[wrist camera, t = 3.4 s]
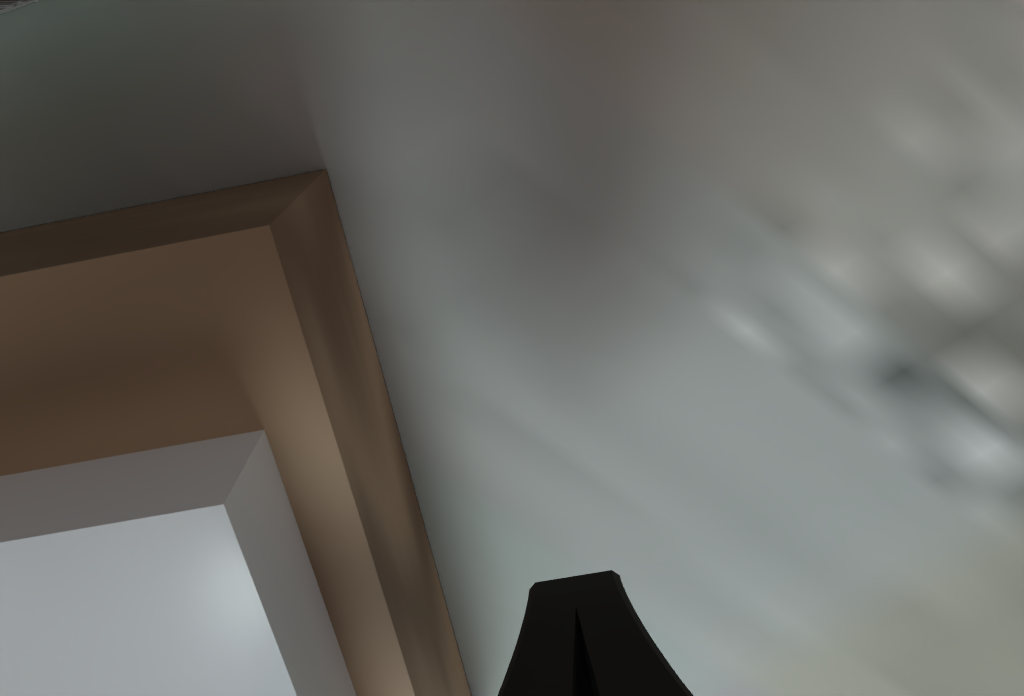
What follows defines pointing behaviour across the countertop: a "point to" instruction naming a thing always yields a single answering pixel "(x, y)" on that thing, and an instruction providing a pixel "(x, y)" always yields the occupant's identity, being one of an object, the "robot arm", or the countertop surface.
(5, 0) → the coffee box
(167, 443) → the flat brown box
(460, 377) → the countertop surface
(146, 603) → the tile
